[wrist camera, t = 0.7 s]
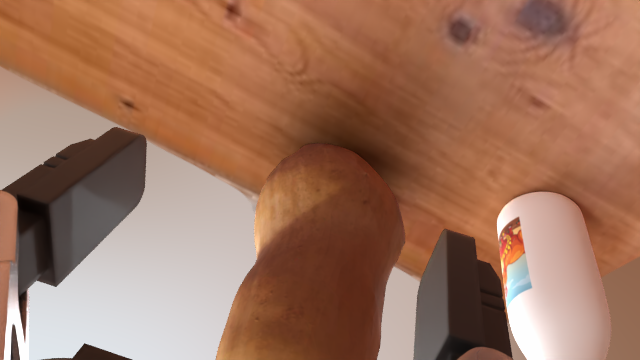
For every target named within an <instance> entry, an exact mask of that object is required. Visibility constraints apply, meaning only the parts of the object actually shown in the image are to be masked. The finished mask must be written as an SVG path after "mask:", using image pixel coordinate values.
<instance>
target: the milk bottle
mask: <svg viewBox="0 0 640 360" xmlns="http://www.w3.org/2000/svg"><path fill="white" fill-rule="evenodd" d="M497 229H498V239H499V248H500V257H501V266H502V274H503V282H504V290H505V298H506V305H507V311H508V317H509V322H510V326H511V329H512V332H513V335H514V338H515V340H516V342H517V344H518V346H519V347H520V349H521V351H522V352H523V354H524V355H525V357H526V358H527V360H605V359H606V355H607V352H608V349H609V344H610V338H611V319H610V312H609V308H608V304H607V300H606V295H605V292H604V288H603V284H602V281H601V277H600V273H599V270H598V266H597V262H596V259H595V256H594V252H593V249H592V245H591V242H590V238H589V235H588V231H587V228H586V225H585V221H584V218H583V215H582V212H581V210H580V208H579V207H578V206H577V205H576V204H575V203H574V202H573V201H572V200H570V199H569V198H567V197H565V196H563V195H561V194H557V193H552V192H533V193H528V194H524V195H521V196H519V197H517V198H515V199H513V200H511V201H510V202H509V203H508V204H506V205H505V206H504V208H503V209H502V210H501V212H500V214H499V216H498V220H497Z"/></svg>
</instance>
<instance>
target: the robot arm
mask: <svg viewBox="0 0 640 360" xmlns="http://www.w3.org/2000/svg"><path fill="white" fill-rule="evenodd" d="M146 147H147V143H146V138H145V137H144V136H143V135H141V134H137V133H134V132H131V131H128V130H124V129H121V128H118V127H114V128H112V129H110V130H109V131H107V132H106V133H105V134H103V135H102V136H100V137H99V138H97V139H96V140H93V139H88V140H85V141H82V142H79V143H75V144H72V145H70V146H68V147H66V148H65V149H64V150H62V151H60V152H59V153H57V154H56V156H55V157H51V158H50V159H48V160H47V161H45V162H44V164H43V165H42V164H41V165H39V166H37V167H36V168H34V169H33V170H31V171H30V172H28V173H27V174H26V175H24V176H22V177H21V178H19V179H18V180H16V181H15V182H13V183H12V184H10V185H8V186H7V187H5V188H4V189H3V190H0V360H28V336H29V335H28V334H29V293H28V288H29V287H30V286H31V285H32V284H33V283H34V282H35V281H40V282H43V283H46V284H49V285H52V286H55V287H57V285H58V284H59V283H61V282H62V281H63V279H65V277H66V276H67V275H69V273H70V272H71V271H73V269H75V267H76V266H77V265H78V264H80V263H81V261H82V260H83V259H84V258H86V256H88V254H90V252H92V251H93V250H94V249H95V247H97V246H98V244H100V242H101V241H102V240H103V239H104V238H105V237H106V236H107V235H108V234H109V233H110V232H111V231H112V230H113V229H114V228H115V227H116V226H117V225H118V224H119V223H120V222H121V221H122V220H123V219H124V218H125V217H126V216H127V215H128V214H129V213H130V212H131V211H132V210H133V209H134V208H135V207H136V206H137V205H138V203H139V202H140V200H141V198H142V195H143V192H144V188H145V171H146V170H145V169H146ZM502 296H503V294H502V288H501V282H500V279H499V277H498V276H497V274H496V272H495V271H494V269H493V268H492V266H491V265H490V263H487V262H483V261H480V260H477V255H476V245H475V239H474V238H473V237H470V236H467V235H463V234H460V233H457V232H454V231H450V230H447V229H444V230H443V232H442V233H441V235H440V237H439V240H438V242H437V244H436V246H435V249H434V251H433V253H432V255H431V258H430V260H429V262H428V264H427V267H426V269H425V271H424V273H423V276H422V279H421V282H420V286H419V290H418V295H417V309H416V311H417V312H416V327H415V343H414V359H413V360H513V358H512V352H511V345H510V339H509V332H508V326H507V320H506V313H505V312H504V310H505V307H504V301H503V299H502ZM43 360H132V359H129V358H125V357H123V356H120V355H117V354H114V353H111V352H108V351H105V350H102V349H99V348H96V347H94V346H91V345H87V344H84V345H83V346H82V347H81V348H80V350H79V351H78V352H77V353H76V355H75V356H74V357H73V358H52V359H43Z"/></svg>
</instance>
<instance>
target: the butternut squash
mask: <svg viewBox="0 0 640 360" xmlns="http://www.w3.org/2000/svg"><path fill="white" fill-rule="evenodd" d="M254 234H255V248H256V253H257V260H256V263H255V265H254V266H253V268H252V269H251V270H250V271H249V273H248V274H247V276H246V277H245V279H244V281H243V282H242V284H241V286H240V287H239V289H238V292H237V294H236V296H235V299H234V301H233V304H232V307H231V310H230V313H229V317H228V320H227V323H226V326H225V329H224V332H223V335H222V338H221V341H220V344H219V347H218V351H217V356H216V360H377V356H378V352H379V349H380V340H381V322H382V312H383V305H384V297H385V289H386V284H387V280H388V278H389V275H390V273H391V271H392V268H393V266H394V265H395V263H396V262H397V260H398V258H399V256H400V254H401V250H402V247H403V245H404V243H405V232H404V226H403V221H402V217H401V213H400V209H399V206H398V203H397V201H396V198H395V196H394V195H393V193H392V192H391V190H390V188H389V187H388V185H387V184H386V183H385V182H384V180H383V179H382V178H381V177H380V176H379V174H378V173H377V172H376V171H375V170H374V169H373V168H372V167H371V166H370V165H369V164H368V163H367V162H366V161H365V160H364V159H362V158H361V157H360V156H359V155H357V154H356V153H354V152H353V151H351V150H348V149H345V148H342V147H339V146H336V145H331V144H323V143H312V144H307V145H305V146H302V147H301V148H300V149H299V150H298V151H297V152H295V153H294V154H292V155H290V156H288V157H286V158H285V159H283V160H282V161H281V162H280V163H279V164H278V166H277V167H276V168H275V169H274V170H273V171H272V172H271V174H270V175H269V177H268V178H267V180H266V182H265V184H264V186H263V188H262V191H261V194H260V196H259V199H258V203H257V206H256V214H255V226H254Z"/></svg>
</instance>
